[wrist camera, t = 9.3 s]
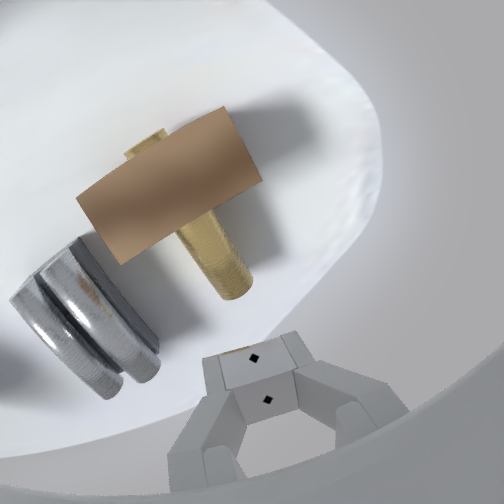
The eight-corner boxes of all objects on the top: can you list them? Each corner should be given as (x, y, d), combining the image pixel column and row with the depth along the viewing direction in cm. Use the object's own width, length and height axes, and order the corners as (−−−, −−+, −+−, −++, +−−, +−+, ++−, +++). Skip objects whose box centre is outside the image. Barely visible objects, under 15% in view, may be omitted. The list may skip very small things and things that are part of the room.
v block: (27, 278, 21) (4, 305, 16) (80, 235, 21) (60, 258, 17) (105, 368, 26) (99, 403, 21) (160, 338, 26) (160, 375, 22)
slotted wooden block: (99, 183, 20) (75, 198, 15) (211, 115, 21) (223, 105, 15) (132, 235, 22) (120, 265, 17) (241, 171, 23) (262, 180, 17)
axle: (126, 150, 18) (120, 156, 16) (163, 127, 18) (163, 128, 16) (216, 285, 25) (223, 306, 22) (247, 267, 25) (258, 286, 22)
